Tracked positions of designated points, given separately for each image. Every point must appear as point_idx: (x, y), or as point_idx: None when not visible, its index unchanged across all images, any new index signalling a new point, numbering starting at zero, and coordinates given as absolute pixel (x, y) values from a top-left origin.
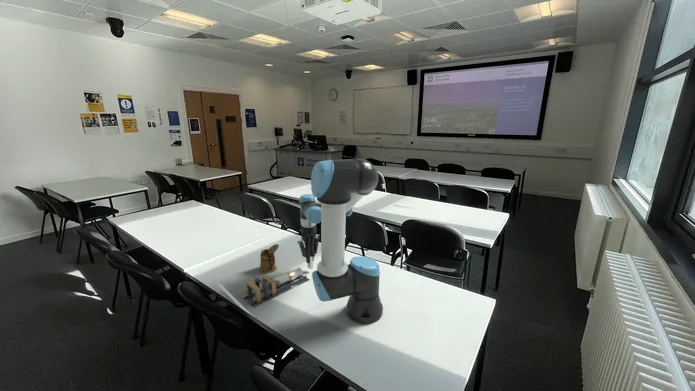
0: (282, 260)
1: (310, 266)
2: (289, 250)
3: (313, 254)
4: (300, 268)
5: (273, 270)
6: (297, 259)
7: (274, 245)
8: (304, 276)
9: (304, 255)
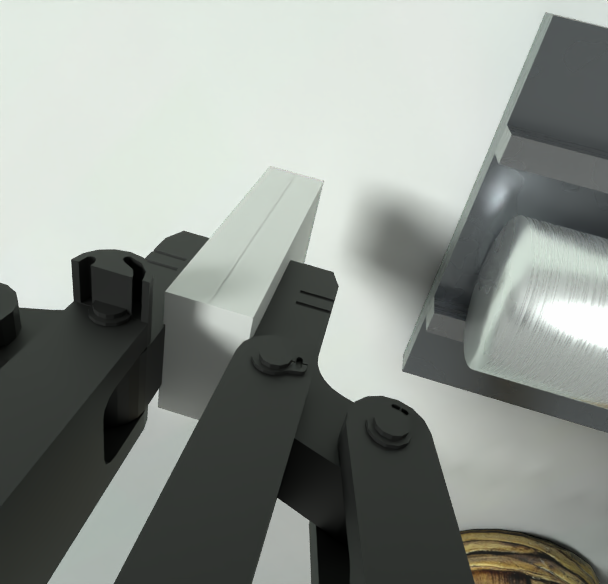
0: (271, 556)
1: (311, 208)
2: (110, 570)
3: (92, 319)
4: (521, 321)
5: (535, 567)
6: (167, 465)
7: None
8: (542, 161)
9: (440, 524)
